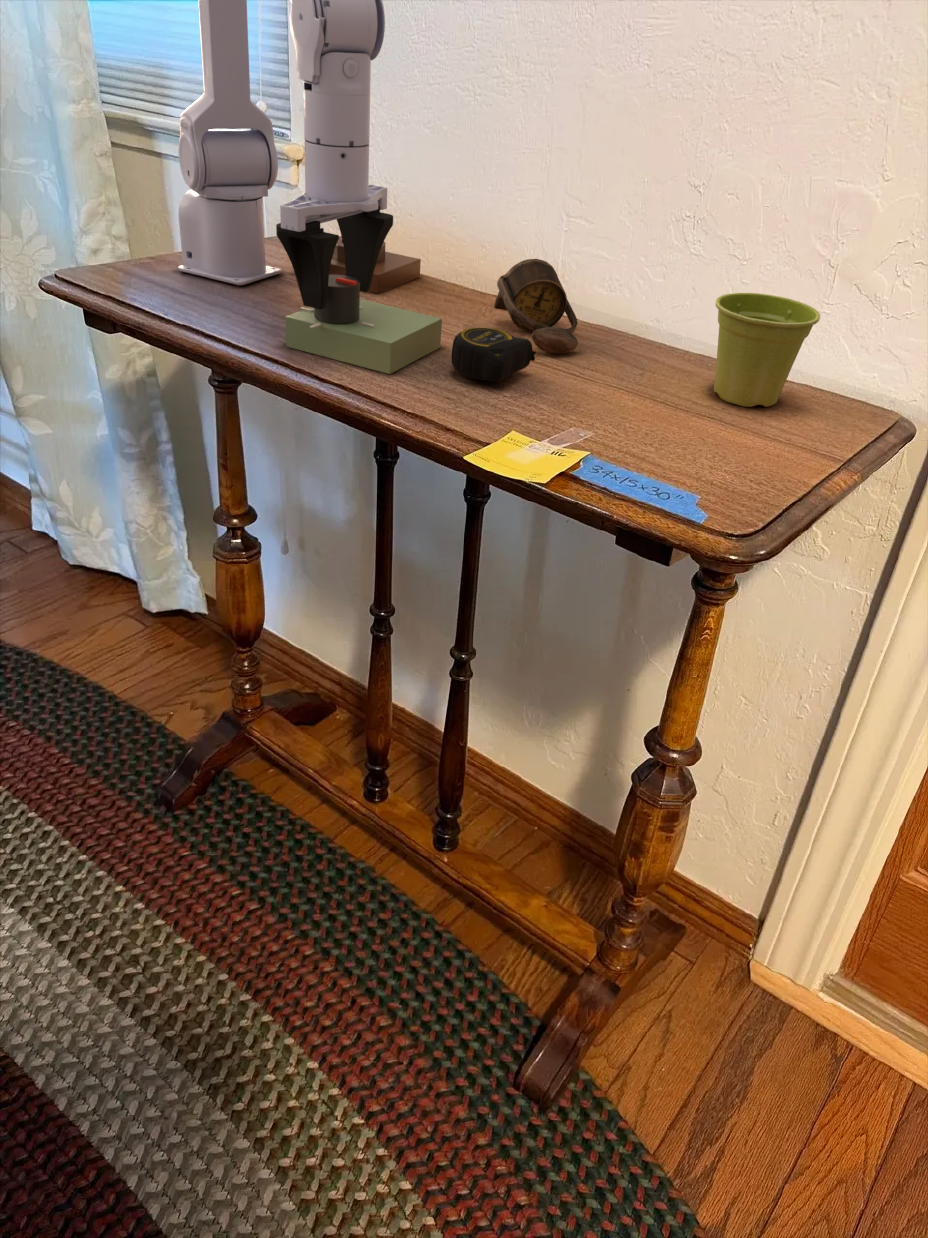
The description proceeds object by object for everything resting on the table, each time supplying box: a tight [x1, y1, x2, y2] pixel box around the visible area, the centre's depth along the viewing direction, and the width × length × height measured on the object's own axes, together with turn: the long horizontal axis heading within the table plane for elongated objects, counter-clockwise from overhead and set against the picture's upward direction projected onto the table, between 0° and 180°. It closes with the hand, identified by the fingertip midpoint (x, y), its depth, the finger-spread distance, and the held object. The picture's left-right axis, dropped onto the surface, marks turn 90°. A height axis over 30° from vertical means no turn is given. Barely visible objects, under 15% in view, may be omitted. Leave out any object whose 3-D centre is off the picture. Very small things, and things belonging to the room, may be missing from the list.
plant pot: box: [713, 292, 821, 408], centre depth 88 cm, size 9×9×9 cm
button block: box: [329, 235, 422, 294], centre depth 114 cm, size 12×10×4 cm
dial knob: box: [314, 275, 361, 324], centre depth 90 cm, size 4×4×4 cm
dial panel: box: [284, 298, 443, 375], centre depth 92 cm, size 12×11×3 cm
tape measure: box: [451, 327, 537, 382], centre depth 88 cm, size 7×7×4 cm
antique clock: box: [493, 258, 579, 354], centre depth 99 cm, size 7×13×10 cm
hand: (337, 298), depth 90 cm, fingers open, 7 cm apart
